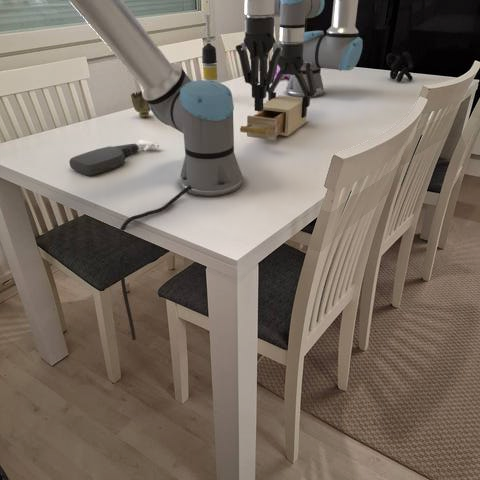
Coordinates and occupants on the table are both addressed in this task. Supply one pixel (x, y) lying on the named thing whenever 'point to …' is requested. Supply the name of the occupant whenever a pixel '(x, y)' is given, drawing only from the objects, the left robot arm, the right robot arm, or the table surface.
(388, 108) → the table surface
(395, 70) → the squiggle
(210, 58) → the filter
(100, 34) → the left robot arm
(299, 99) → the wooden box
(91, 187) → the table surface
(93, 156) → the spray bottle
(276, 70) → the bracket
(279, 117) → the drawer
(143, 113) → the olive irregular piece
